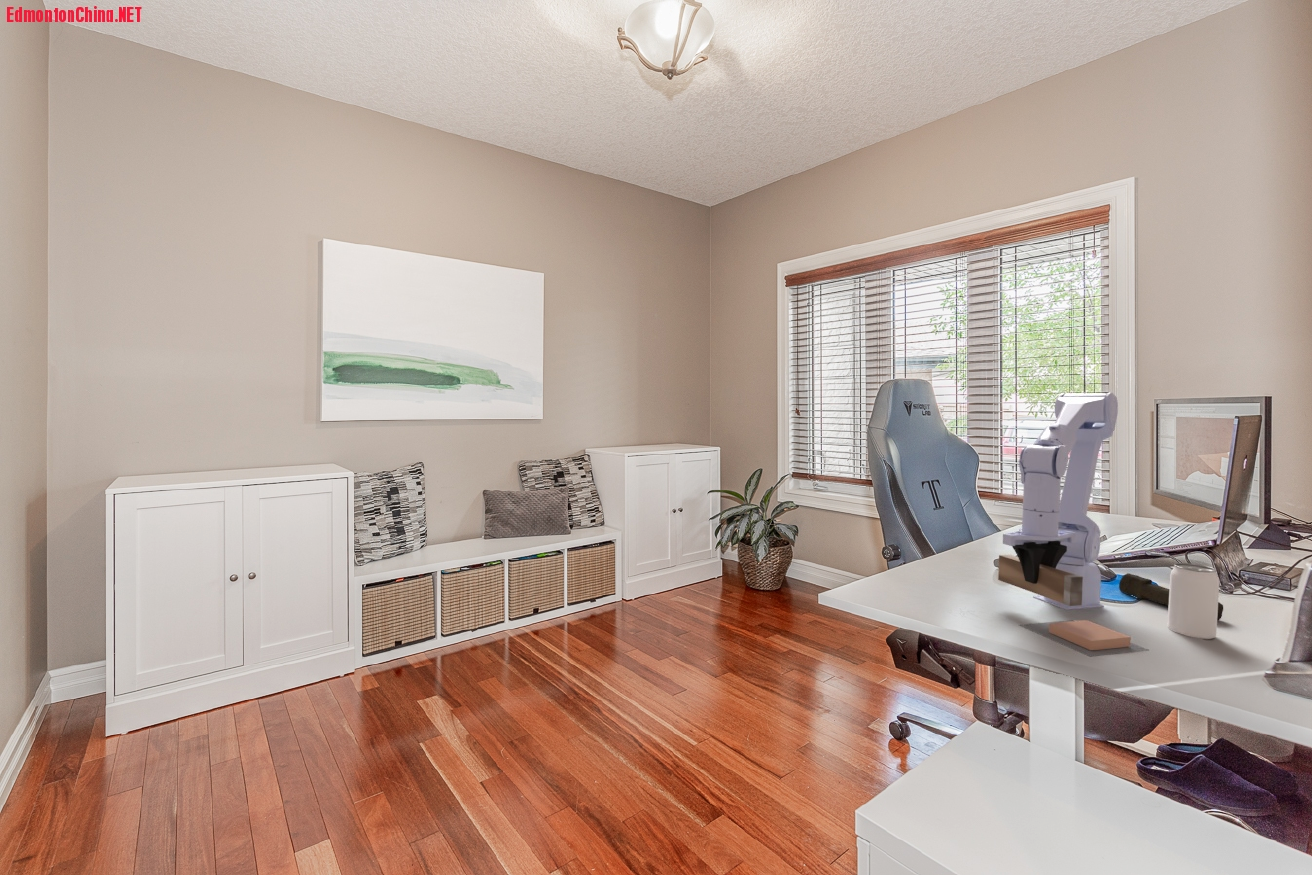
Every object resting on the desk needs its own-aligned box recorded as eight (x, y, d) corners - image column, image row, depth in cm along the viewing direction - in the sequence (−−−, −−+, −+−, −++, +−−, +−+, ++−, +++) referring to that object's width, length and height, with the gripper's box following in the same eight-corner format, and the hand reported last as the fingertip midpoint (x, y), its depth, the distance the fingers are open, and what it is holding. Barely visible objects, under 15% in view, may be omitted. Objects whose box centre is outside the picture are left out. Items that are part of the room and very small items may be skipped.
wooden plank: (1008, 579, 120) (1009, 554, 120) (1081, 605, 105) (1082, 576, 105) (998, 580, 120) (998, 554, 120) (1069, 606, 104) (1070, 577, 104)
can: (1220, 643, 102) (1224, 574, 102) (1171, 635, 106) (1174, 568, 105) (1210, 631, 108) (1214, 565, 107) (1164, 624, 111) (1167, 560, 111)
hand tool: (1225, 622, 113) (1226, 598, 113) (1207, 623, 112) (1208, 598, 112) (1130, 591, 132) (1131, 570, 131) (1114, 592, 131) (1115, 571, 131)
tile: (1086, 619, 107) (1130, 636, 99) (1085, 629, 107) (1130, 647, 99) (1049, 623, 105) (1091, 640, 97) (1048, 633, 105) (1091, 651, 97)
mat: (1072, 622, 112) (1072, 619, 112) (1149, 652, 98) (1149, 649, 98) (1018, 626, 109) (1018, 624, 109) (1089, 658, 96) (1090, 656, 96)
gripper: (1054, 504, 117) (1051, 573, 118) (991, 507, 114) (988, 577, 114) (1087, 511, 110) (1084, 584, 111) (1021, 513, 107) (1018, 588, 108)
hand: (1037, 581), depth 112 cm, fingers closed on wooden plank, 2 cm apart
